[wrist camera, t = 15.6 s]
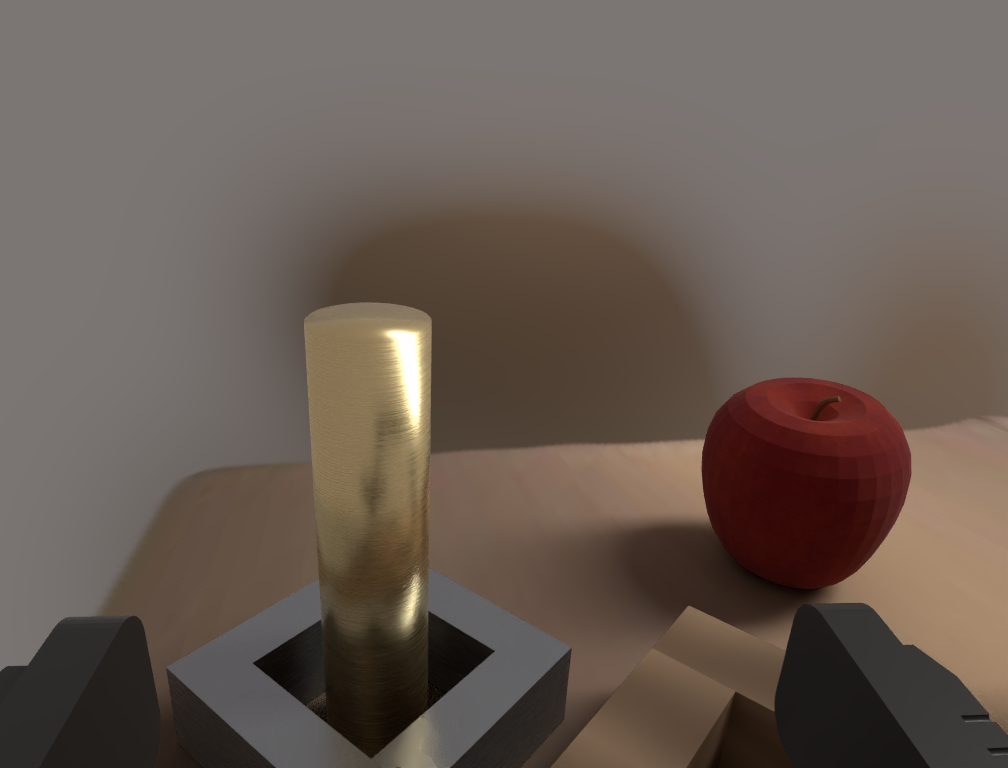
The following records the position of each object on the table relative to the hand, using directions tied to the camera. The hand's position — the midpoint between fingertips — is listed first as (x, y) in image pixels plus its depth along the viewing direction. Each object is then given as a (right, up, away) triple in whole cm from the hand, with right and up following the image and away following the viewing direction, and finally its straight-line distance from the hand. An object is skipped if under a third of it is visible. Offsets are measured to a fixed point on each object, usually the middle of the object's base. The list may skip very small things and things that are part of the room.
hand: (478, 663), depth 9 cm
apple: (+15, -6, +29) cm, 33 cm away
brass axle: (-4, -10, +18) cm, 21 cm away
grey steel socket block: (-4, -9, +18) cm, 21 cm away
